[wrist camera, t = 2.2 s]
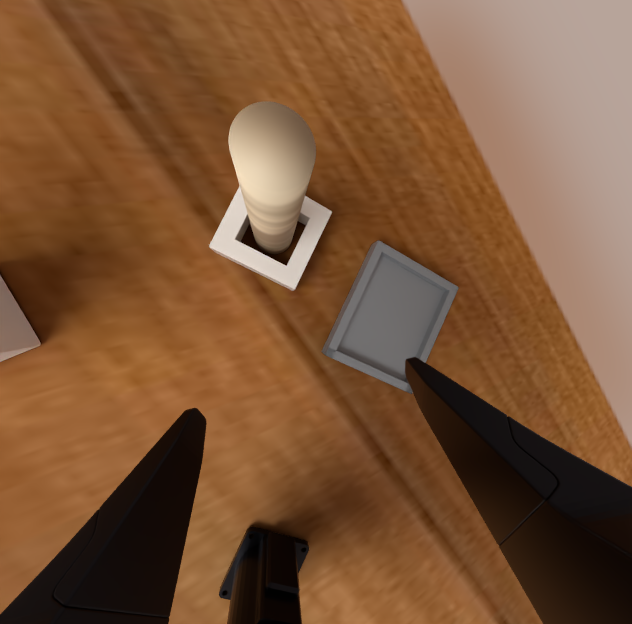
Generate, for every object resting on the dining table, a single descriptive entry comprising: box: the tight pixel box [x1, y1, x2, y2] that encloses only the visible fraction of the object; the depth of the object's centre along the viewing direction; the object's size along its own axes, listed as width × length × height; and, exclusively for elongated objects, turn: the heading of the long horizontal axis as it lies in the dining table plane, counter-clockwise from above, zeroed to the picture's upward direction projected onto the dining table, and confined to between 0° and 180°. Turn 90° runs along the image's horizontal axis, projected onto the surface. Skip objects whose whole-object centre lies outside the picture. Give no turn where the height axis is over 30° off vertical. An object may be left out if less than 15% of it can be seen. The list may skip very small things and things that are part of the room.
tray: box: [322, 240, 459, 394], centre depth 23 cm, size 12×10×2 cm
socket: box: [209, 186, 332, 291], centre depth 20 cm, size 8×8×2 cm
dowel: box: [229, 102, 316, 254], centre depth 15 cm, size 4×4×12 cm
